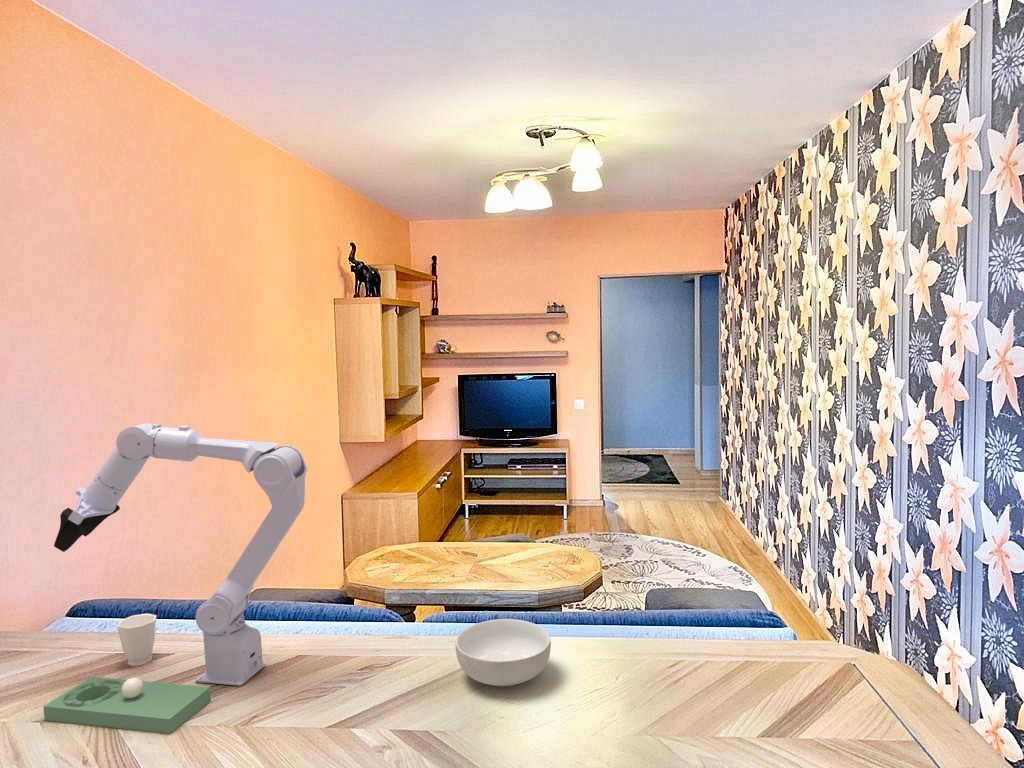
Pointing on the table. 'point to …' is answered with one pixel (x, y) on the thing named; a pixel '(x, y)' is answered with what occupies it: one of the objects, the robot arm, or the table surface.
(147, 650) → the cup
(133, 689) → the ball
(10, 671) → the table surface
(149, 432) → the robot arm
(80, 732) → the table surface
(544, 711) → the table surface
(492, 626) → the cereal bowl
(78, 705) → the putting strip
